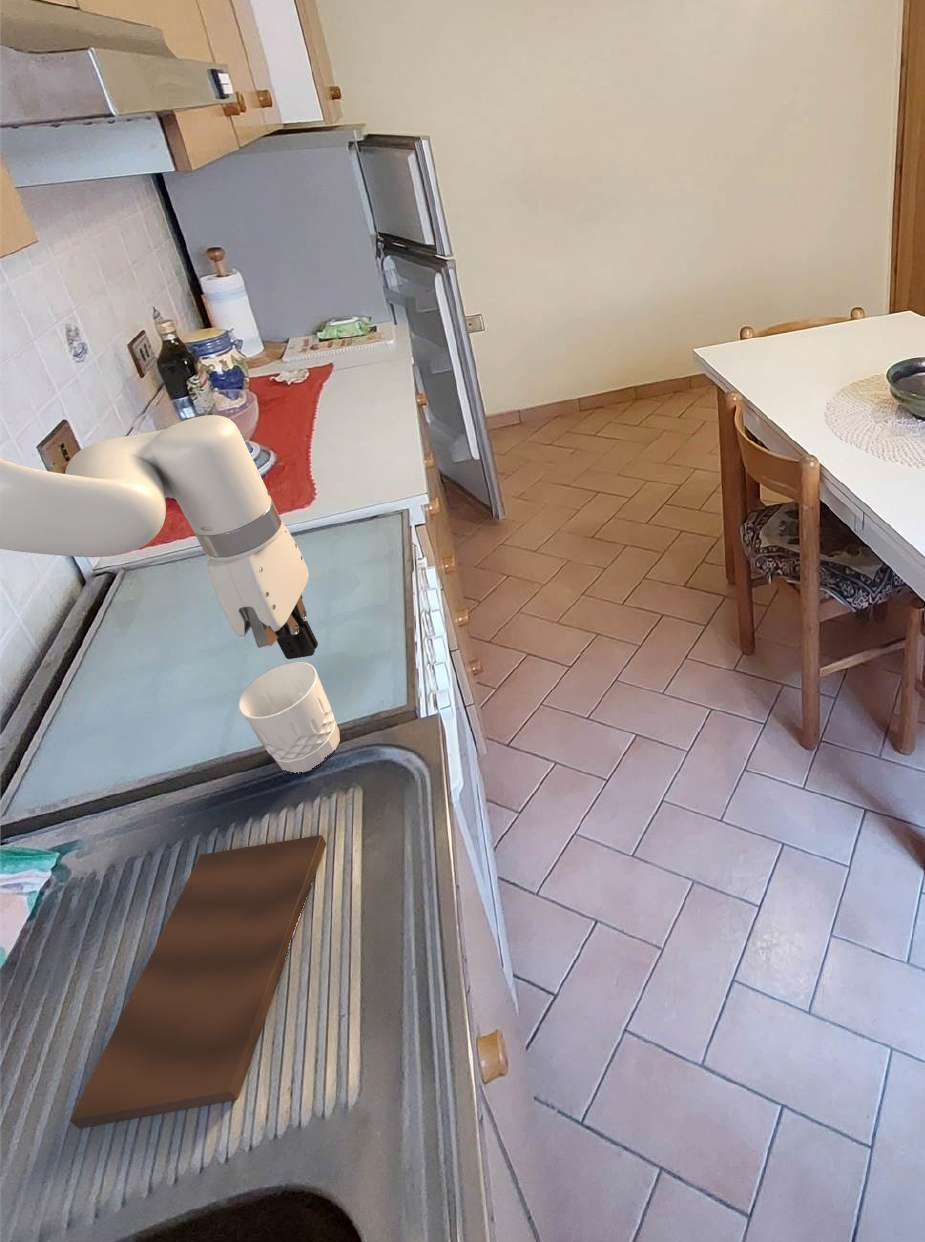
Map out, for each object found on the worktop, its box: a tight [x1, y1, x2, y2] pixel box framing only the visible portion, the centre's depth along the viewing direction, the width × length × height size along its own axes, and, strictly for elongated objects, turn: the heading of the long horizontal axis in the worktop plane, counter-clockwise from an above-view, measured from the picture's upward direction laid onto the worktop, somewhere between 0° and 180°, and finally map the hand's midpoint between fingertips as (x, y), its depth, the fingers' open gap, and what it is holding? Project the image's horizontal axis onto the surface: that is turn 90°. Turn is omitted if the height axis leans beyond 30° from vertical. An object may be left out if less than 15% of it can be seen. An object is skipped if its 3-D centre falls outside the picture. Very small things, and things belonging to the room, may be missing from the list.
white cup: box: [238, 661, 341, 774], centre depth 86 cm, size 8×8×10 cm
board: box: [69, 834, 327, 1129], centre depth 68 cm, size 21×12×2 cm, turn 6°
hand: (302, 652), depth 89 cm, fingers closed
